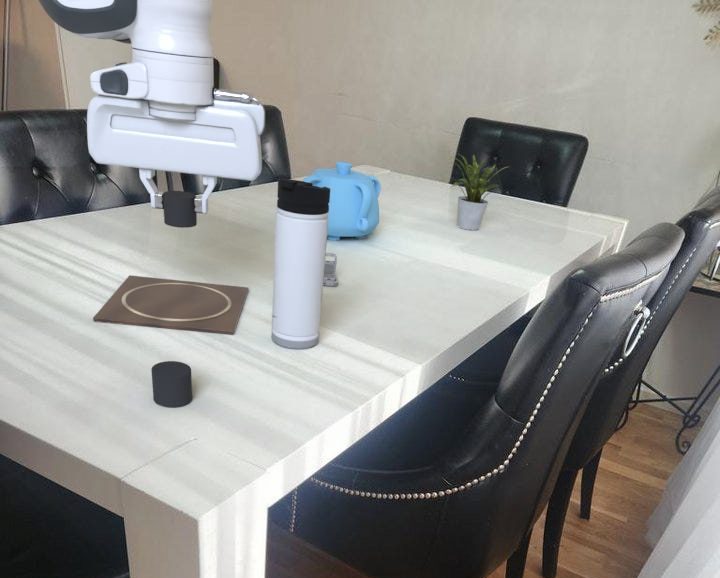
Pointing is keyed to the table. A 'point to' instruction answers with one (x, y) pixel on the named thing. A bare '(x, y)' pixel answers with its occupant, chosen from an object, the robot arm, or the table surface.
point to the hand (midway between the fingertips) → (179, 210)
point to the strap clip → (330, 271)
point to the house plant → (473, 195)
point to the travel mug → (299, 263)
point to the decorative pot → (349, 200)
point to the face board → (175, 305)
